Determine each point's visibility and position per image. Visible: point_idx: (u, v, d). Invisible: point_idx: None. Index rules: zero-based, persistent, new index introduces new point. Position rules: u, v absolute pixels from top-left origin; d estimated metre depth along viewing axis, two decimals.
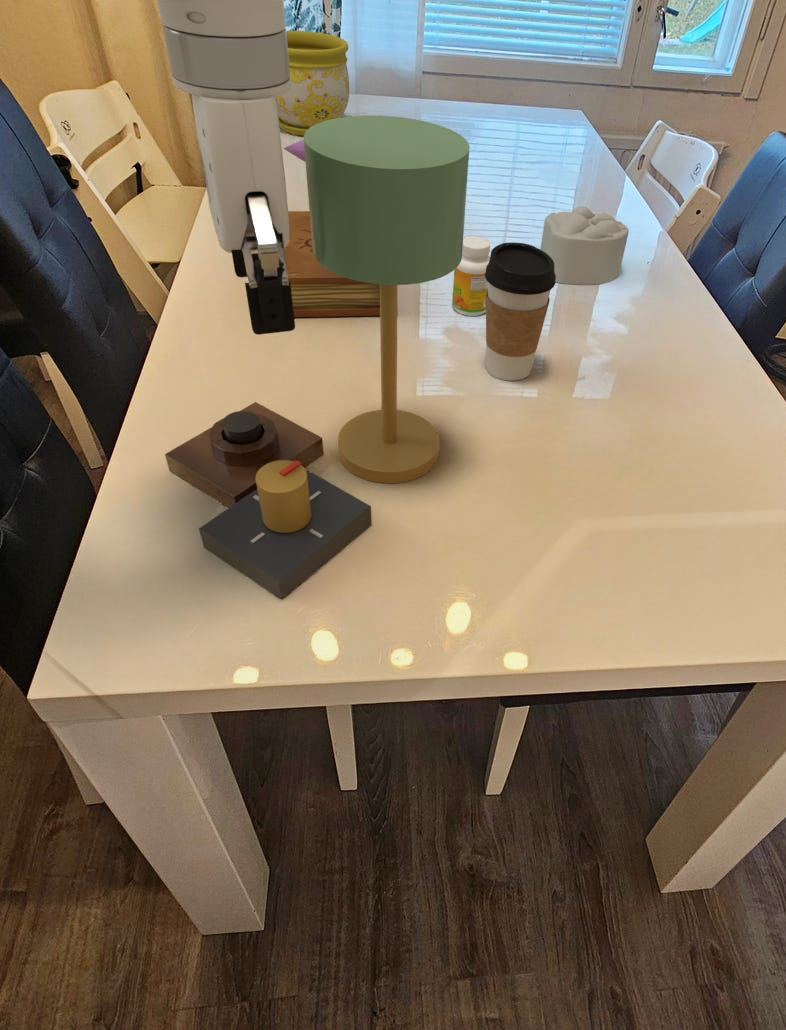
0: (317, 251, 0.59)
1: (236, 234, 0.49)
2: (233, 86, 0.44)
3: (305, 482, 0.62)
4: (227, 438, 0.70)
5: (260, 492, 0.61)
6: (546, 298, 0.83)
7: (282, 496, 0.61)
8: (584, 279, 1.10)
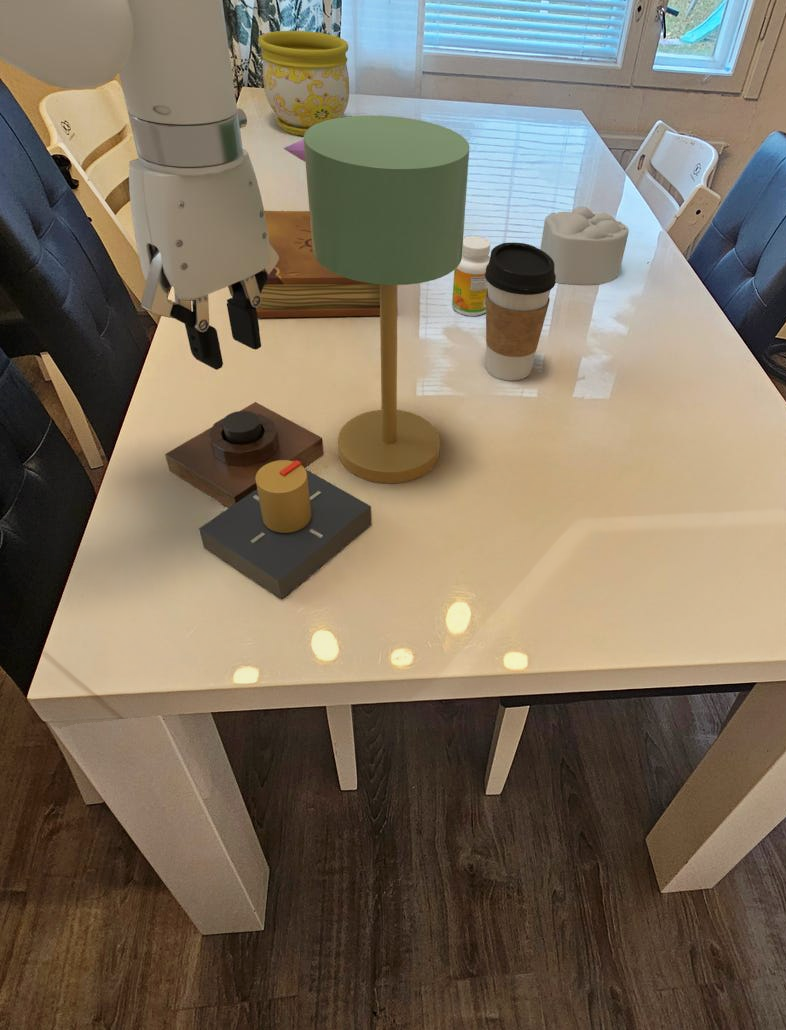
0: (317, 251, 0.59)
1: (146, 272, 0.56)
2: (145, 157, 0.51)
3: (305, 482, 0.62)
4: (227, 438, 0.70)
5: (260, 492, 0.61)
6: (546, 298, 0.83)
7: (282, 496, 0.61)
8: (584, 279, 1.10)
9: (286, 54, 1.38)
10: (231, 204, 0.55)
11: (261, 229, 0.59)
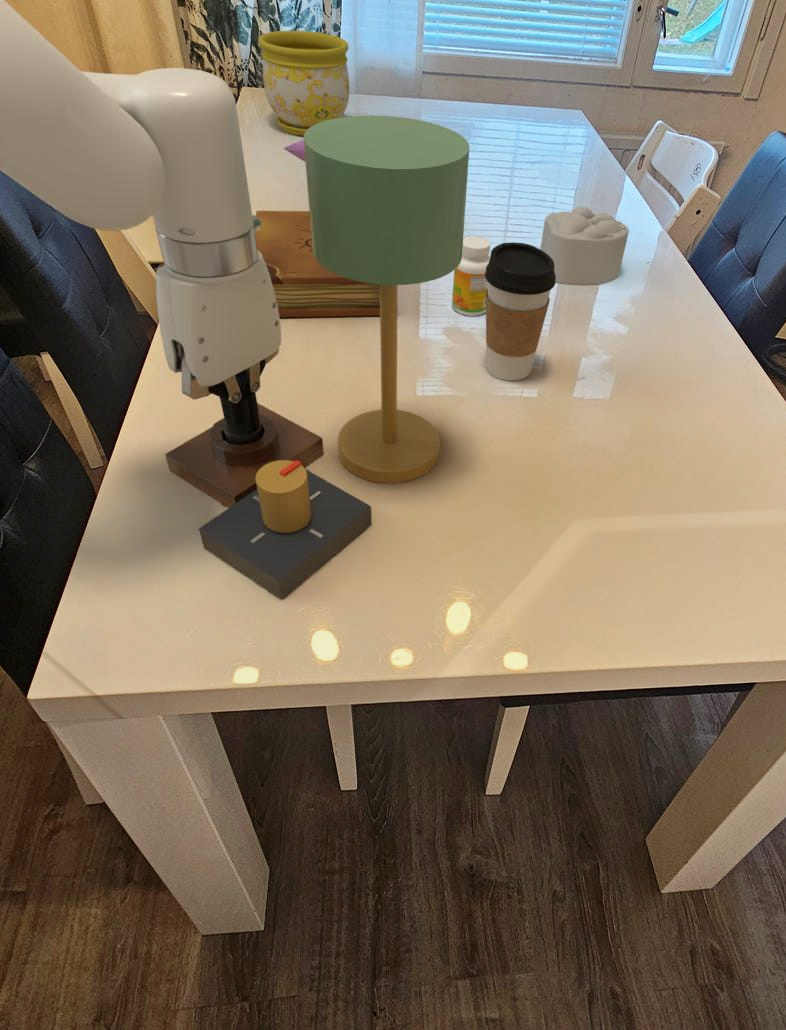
0: (317, 251, 0.59)
1: (170, 362, 0.62)
2: (171, 267, 0.56)
3: (305, 482, 0.62)
4: (228, 442, 0.71)
5: (260, 492, 0.61)
6: (546, 298, 0.83)
7: (282, 496, 0.61)
8: (584, 279, 1.10)
9: (286, 54, 1.38)
10: (247, 301, 0.61)
11: (274, 318, 0.65)
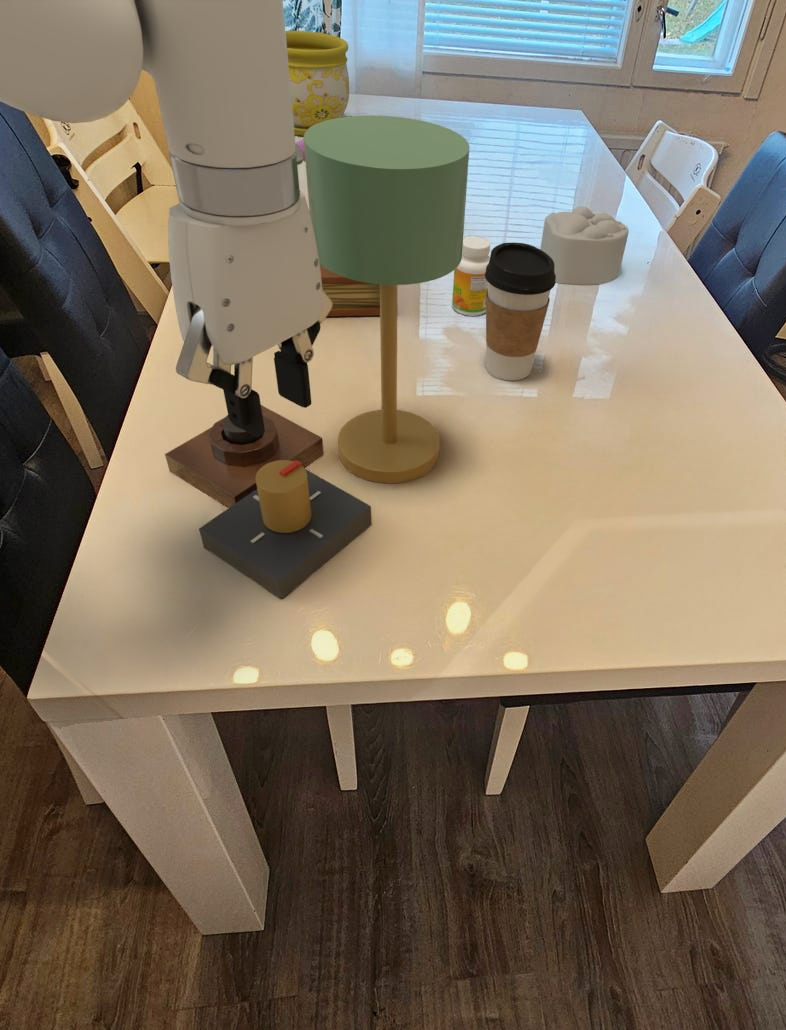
0: None
1: (185, 332, 0.49)
2: (188, 204, 0.43)
3: (305, 482, 0.62)
4: (227, 438, 0.70)
5: (260, 492, 0.61)
6: (546, 298, 0.83)
7: (282, 496, 0.61)
8: (584, 279, 1.10)
9: None
10: (285, 254, 0.47)
11: (315, 279, 0.51)
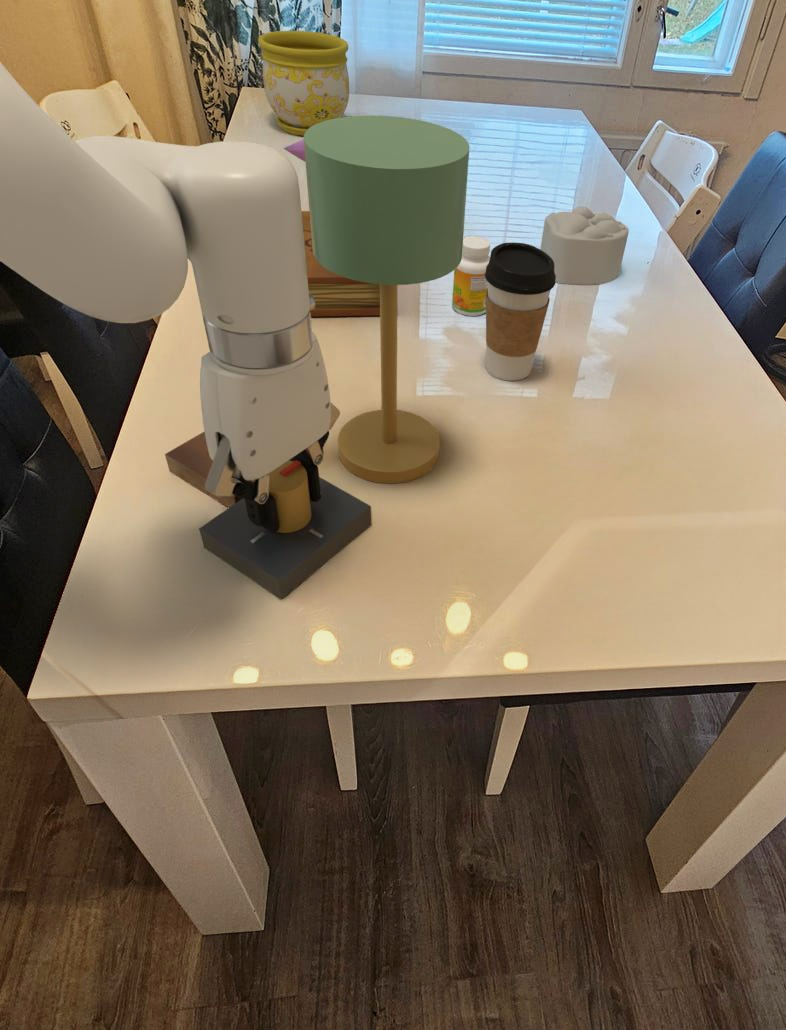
0: (317, 251, 0.59)
1: (212, 453, 0.56)
2: (218, 357, 0.50)
3: (305, 482, 0.62)
4: None
5: None
6: (546, 298, 0.83)
7: (282, 496, 0.61)
8: (584, 279, 1.10)
9: (286, 54, 1.38)
10: (299, 388, 0.55)
11: (325, 401, 0.59)
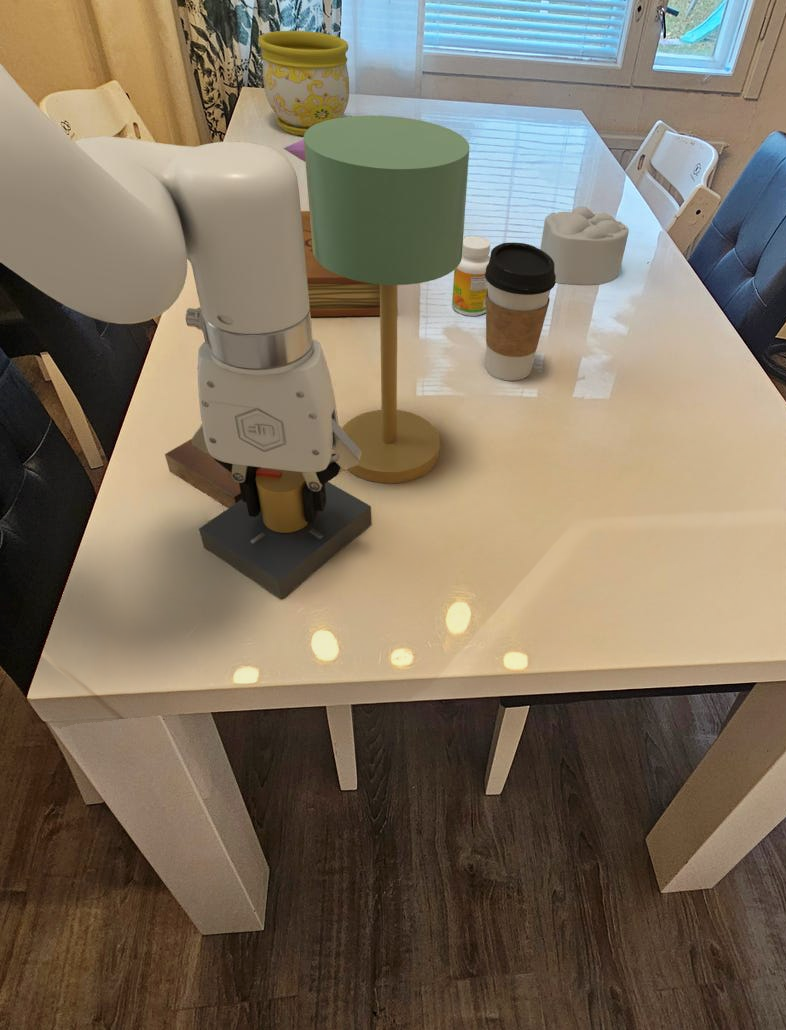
0: (317, 251, 0.59)
1: (330, 452, 0.57)
2: (309, 348, 0.52)
3: None
4: None
5: None
6: (546, 298, 0.83)
7: None
8: (584, 279, 1.10)
9: (286, 54, 1.38)
10: None
11: None
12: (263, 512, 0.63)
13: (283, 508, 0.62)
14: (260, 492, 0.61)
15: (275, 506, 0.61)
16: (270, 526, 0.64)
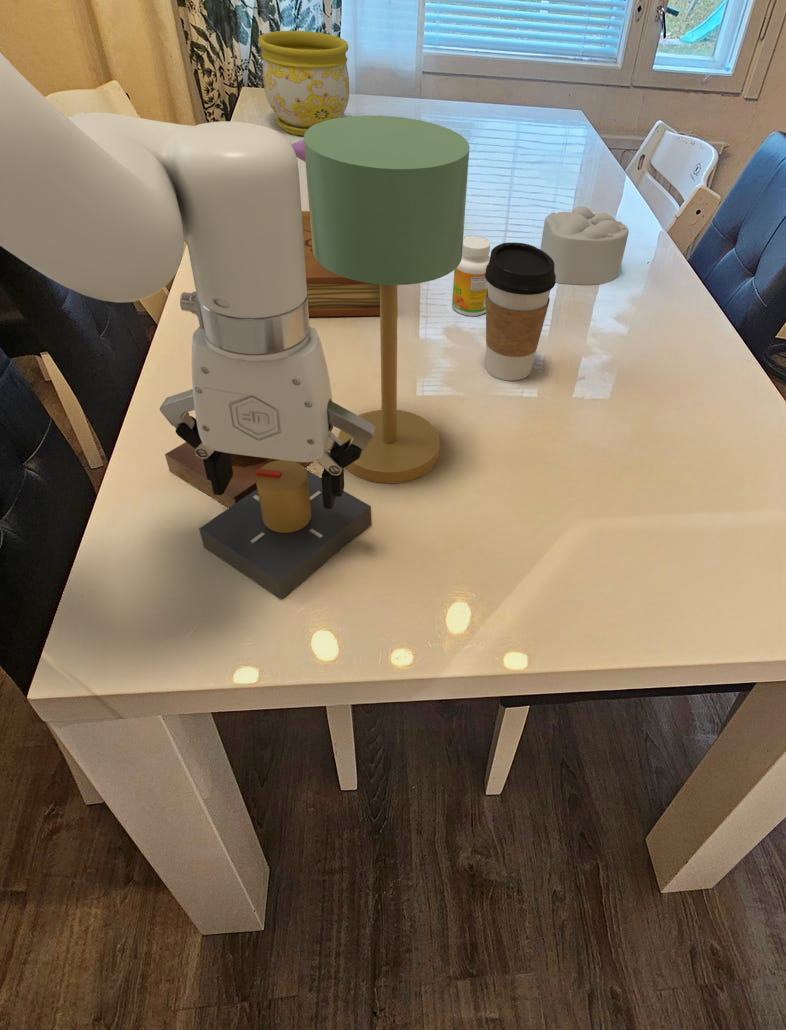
0: (317, 251, 0.59)
1: (325, 441, 0.56)
2: (306, 334, 0.51)
3: None
4: None
5: (305, 488, 0.62)
6: (546, 298, 0.83)
7: None
8: (584, 279, 1.10)
9: (286, 54, 1.38)
10: None
11: None
12: (263, 512, 0.63)
13: (282, 508, 0.62)
14: (260, 492, 0.61)
15: (275, 506, 0.61)
16: (270, 526, 0.64)
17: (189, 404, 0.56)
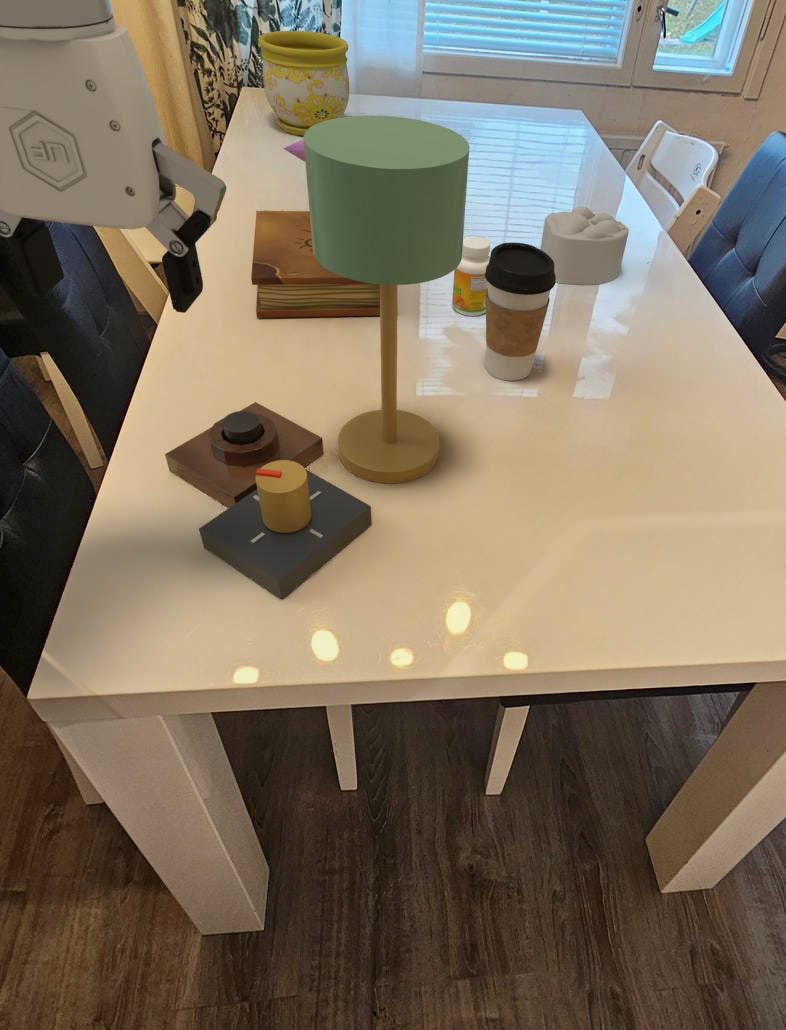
0: (317, 251, 0.59)
1: (155, 197, 0.42)
2: (101, 18, 0.37)
3: None
4: (227, 438, 0.70)
5: (305, 488, 0.62)
6: (546, 298, 0.83)
7: None
8: (584, 279, 1.10)
9: (286, 54, 1.38)
10: None
11: None
12: (263, 512, 0.63)
13: (282, 508, 0.62)
14: (260, 492, 0.61)
15: (275, 506, 0.61)
16: (270, 526, 0.64)
17: None
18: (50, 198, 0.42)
